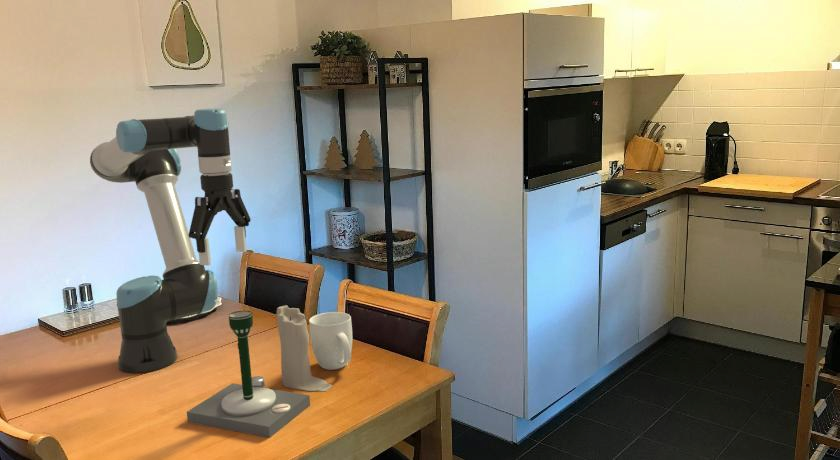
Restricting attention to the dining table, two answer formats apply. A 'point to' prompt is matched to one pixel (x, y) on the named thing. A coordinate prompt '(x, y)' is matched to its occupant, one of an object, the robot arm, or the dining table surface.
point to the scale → (249, 410)
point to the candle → (296, 351)
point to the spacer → (258, 381)
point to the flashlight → (243, 347)
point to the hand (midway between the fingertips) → (224, 258)
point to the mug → (331, 339)
